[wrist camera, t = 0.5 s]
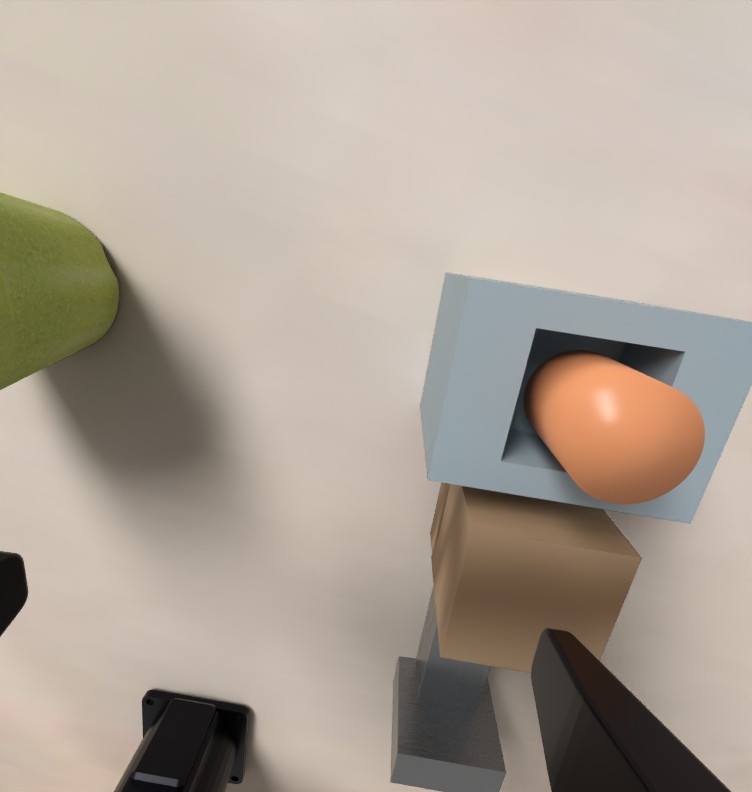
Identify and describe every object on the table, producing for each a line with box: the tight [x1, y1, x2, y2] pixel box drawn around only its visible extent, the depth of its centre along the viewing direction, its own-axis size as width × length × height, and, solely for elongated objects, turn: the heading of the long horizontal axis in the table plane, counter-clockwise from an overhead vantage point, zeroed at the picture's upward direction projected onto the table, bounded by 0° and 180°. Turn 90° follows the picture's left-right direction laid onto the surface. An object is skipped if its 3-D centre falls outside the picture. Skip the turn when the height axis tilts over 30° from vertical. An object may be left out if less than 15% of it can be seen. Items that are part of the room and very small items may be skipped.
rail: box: [391, 587, 506, 792], centre depth 20 cm, size 18×5×5 cm, turn 171°
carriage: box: [430, 483, 642, 673], centre depth 16 cm, size 5×5×6 cm
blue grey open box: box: [420, 273, 752, 524], centre depth 15 cm, size 6×8×7 cm
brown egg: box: [523, 349, 705, 505], centre depth 11 cm, size 3×3×4 cm
